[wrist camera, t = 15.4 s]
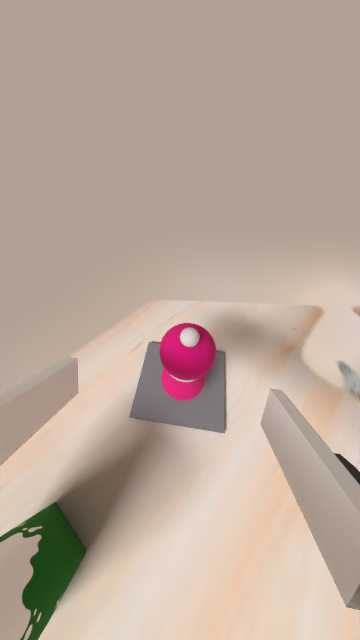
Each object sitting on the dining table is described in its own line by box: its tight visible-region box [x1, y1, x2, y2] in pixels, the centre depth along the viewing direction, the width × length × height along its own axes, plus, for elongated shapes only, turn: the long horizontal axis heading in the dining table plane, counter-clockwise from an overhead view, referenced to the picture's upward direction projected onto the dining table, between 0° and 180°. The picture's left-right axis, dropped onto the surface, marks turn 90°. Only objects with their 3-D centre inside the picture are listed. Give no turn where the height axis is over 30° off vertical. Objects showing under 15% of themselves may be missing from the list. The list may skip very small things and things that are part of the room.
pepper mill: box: [159, 323, 216, 401], centre depth 23 cm, size 7×7×20 cm
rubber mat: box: [130, 342, 225, 433], centre depth 32 cm, size 16×14×1 cm
